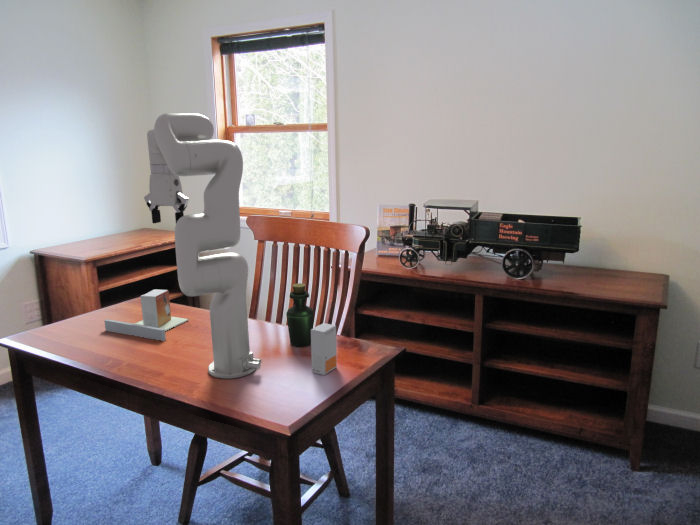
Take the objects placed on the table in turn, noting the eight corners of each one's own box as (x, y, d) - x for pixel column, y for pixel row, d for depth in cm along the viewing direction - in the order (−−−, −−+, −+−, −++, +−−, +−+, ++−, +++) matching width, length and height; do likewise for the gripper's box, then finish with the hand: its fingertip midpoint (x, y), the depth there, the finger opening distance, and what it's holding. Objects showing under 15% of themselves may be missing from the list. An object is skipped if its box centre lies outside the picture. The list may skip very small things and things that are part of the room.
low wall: (165, 339, 169) (164, 329, 168) (163, 341, 168) (161, 330, 167) (108, 329, 179) (107, 319, 178) (105, 330, 178) (104, 320, 177)
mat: (188, 320, 186) (188, 319, 186) (158, 334, 173) (158, 333, 173) (157, 315, 191) (156, 314, 191) (125, 329, 179) (125, 327, 179)
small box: (158, 328, 178) (155, 296, 175) (143, 326, 179) (139, 295, 177) (172, 319, 185) (169, 289, 183) (157, 318, 187) (154, 288, 184)
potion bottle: (312, 348, 160) (310, 289, 156) (284, 348, 161) (281, 288, 157) (317, 338, 168) (315, 281, 164) (291, 337, 169) (288, 281, 165)
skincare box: (324, 375, 143) (323, 332, 140) (311, 372, 145) (309, 329, 142) (337, 367, 148) (336, 325, 145) (324, 364, 150) (323, 322, 147)
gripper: (193, 169, 173) (197, 223, 177) (150, 168, 180) (156, 220, 184) (176, 171, 166) (181, 227, 170) (133, 170, 173) (139, 224, 178)
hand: (168, 223), depth 177 cm, fingers open, 9 cm apart
